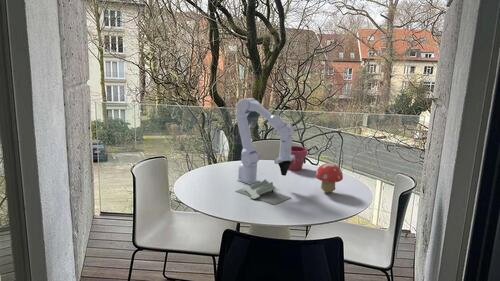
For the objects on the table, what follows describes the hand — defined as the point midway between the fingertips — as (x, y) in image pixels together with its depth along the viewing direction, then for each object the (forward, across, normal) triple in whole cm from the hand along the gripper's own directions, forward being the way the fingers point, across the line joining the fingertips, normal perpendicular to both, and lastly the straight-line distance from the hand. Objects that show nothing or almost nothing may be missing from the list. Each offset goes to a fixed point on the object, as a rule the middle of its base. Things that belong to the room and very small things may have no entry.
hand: (283, 175), depth 189 cm
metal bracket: (+7, -14, +3) cm, 16 cm away
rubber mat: (+7, -15, +1) cm, 16 cm away
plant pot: (+7, +34, +17) cm, 38 cm away
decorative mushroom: (+7, +12, -19) cm, 23 cm away
